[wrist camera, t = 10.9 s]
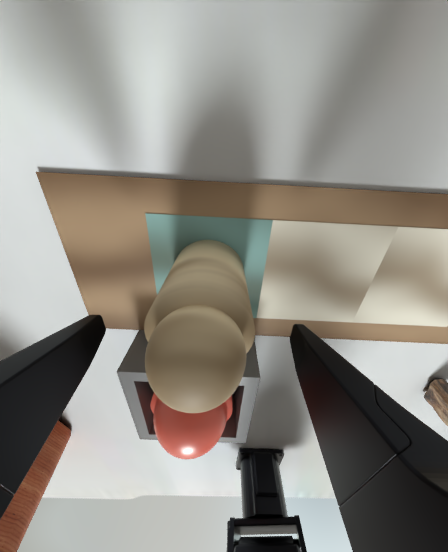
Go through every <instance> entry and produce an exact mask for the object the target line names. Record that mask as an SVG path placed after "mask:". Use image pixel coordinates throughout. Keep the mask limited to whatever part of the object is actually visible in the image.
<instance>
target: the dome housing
mask: <svg viewBox="0 0 448 552" xmlns="http://www.w3.org/2000/svg"><path fill="white" fill-rule="evenodd" d="M147 344H148V341H147V339H146V336H145V331H144V330H139V332H138V333H137V335H136V337H135V339H134V341H133V343H132V345H131V346H130V348H129V350H128V352H127V354H126V356H125V357H124V359H123V361H122V363H121V365H120V367H119V368H118V370H117V374H118V377H119V380H120V383H121V385H122V388H123V391H124V394H125V397H126V400H127V403H128V406H129V409H130V412H131V415H132V418H133V421H134V423H135V426H136V429H137V432H138V435H139V438H140V439H149V440H158V439H157V436H156V433H155V430H154V422H153V415H154V414H153V412H152V410H151V406H150V404H151V400H152V397H153V394H154V392H153V390H152V388H151V386H150V384H149V382H148V379H147V376H146V370H145V353H146V348H147ZM246 356H247V357H246V367H245V371H244V374H243V377H242V380H241V382H240V384H239V386H238V387H237V389H236V390H235V392H234V393H233V394H232V415H231V417H230V418H229V419H228V420H227V421H226V425H225V428H224V431H223V433H222V435H221V437H220V439H219V441H218V442H226V443H246V439H247V435H248V430H249V426H250V421H251V417H252V413H253V408H254V404H255V399H256V395H257V390H258V386H259V381H260V373H259V367H258V361H257V354H256V348H255V342H253V344H252V347H251V348H250V350H249V351H248V352H247V354H246Z"/></svg>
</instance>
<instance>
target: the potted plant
mask: <svg viewBox="0 0 448 552" xmlns="http://www.w3.org/2000/svg"><path fill="white" fill-rule="evenodd" d="M70 436H71V430H70V429H69V428H67V427H66V426H65V425H64V424H62V423H61V422H60V421H59V420H58V421H57V423H56V425H55V426H54V428H53V430H52V432H51V433H50V435H49V437H48V439H47V440H46V442H45V444H44V445H43V447H42V449H41V451H40V452H39V454H38V456H37V457H36V459H35V461H34V463H33V464H32V466H31V468H30V469H29V471H28V473H27V475H26V476H25V478H24V480H23V481H22V483H21V485H20V487H19V488H18V490H17V492H16V493H15V494H14V497H13V499H12V501H11V502H10V504H9V506H8V507H7V509H6V511H5V513H4V514H3V516H2V518H1V520H0V552H17V550H18V548H19V545H20V543H21V541H22V539H23V537H24V535H25V532H26V530H27V528H28V526H29V524H30V522H31V520H32V517H33V515H34V513H35V511H36V509H37V507H38V505H39V502H40V500H41V498H42V496H43V494H44V492H45V490H46V487H47V485H48V483H49V481H50V479H51V477H52V475H53V472H54V470H55V468H56V466H57V464H58V462H59V459H60V457H61V455H62V453H63V451H64V449H65V447H66V444H67V442H68V440H69V438H70Z"/></svg>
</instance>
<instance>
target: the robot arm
mask: <svg viewBox="0 0 448 552" xmlns="http://www.w3.org/2000/svg"><path fill="white" fill-rule="evenodd" d="M105 331H106V327H105V324H104V321H103V318H102V316H101V315H95V314H92V315H89V316H87V317H85V318H83V319H81V320H79V321H77V322H75V323H73V324H71V325H70V326H68V327H66V328H64V329H62V330H60V331H58V332H56V333H54V334H52V335H50V336H48V337H46V338H44V339H42V340H41V341H39V342H37V343H35V344H33V345H31V346H29V347H27V348H25V349H23V350H21V351H19V352H17V353H15V354H13V355H12V356H10V357H8V358H6V359H4V360H2V361H0V520H1V518H2V516H3V514H4V513H5V511H6V509H7V507H8V506H9V504H10V502H11V501H12V499H13V497H14V494H15V493H16V492H17V490H18V488H19V487H20V485H21V483H22V481H23V480H24V478H25V476H26V475H27V473H28V471H29V469H30V468H31V466H32V464H33V463H34V461H35V459H36V457H37V456H38V454H39V452H40V451H41V449H42V447H43V445H44V444H45V442H46V440H47V439H48V437H49V435H50V433H51V432H52V430H53V428H54V426H55V425H56V423H57V421H58V420H59V418H60V416H61V414H62V413H63V411H64V409H65V408H66V406H67V404H68V402H69V401H70V399H71V397H72V396H73V394H74V392H75V390H76V389H77V387H78V385H79V384H80V382H81V380H82V378H83V377H84V375H85V373H86V372H87V370H88V368H89V366H90V364H91V363H92V360H93V358H94V356H95V354H96V352H97V350H98V348H99V345H100V343H101V341H102V339H103V337H104V334H105ZM290 343H291V348H292V353H293V358H294V363H295V368H296V372H297V376H298V379H299V382H300V386H301V389H302V392H303V395H304V398H305V401H306V405H307V408H308V411H309V414H310V417H311V420H312V423H313V427H314V430H315V433H316V436H317V439H318V442H319V446H320V449H321V452H322V455H323V458H324V461H325V465H326V468H327V471H328V474H329V477H330V480H331V483H332V487H333V490H334V493H335V496H336V499H337V502H338V505H339V506H340V507H339V509H340V512H341V515H342V518H343V522H344V525H345V528H346V531H347V534H348V537H349V540H350V544H351V547H352V550H353V552H448V441H447V440H446V439H444V438H443V437H442V436H440V435H439V434H438V433H436V432H435V431H434V430H432V429H431V428H430V427H428V426H427V425H426V424H424V423H423V422H422V421H420V420H419V419H418V418H416V417H415V416H414V415H412V414H411V413H410V412H409V411H407V410H406V409H405V408H403V407H402V406H401V405H400V404H398V403H397V402H396V401H395V400H393V399H392V398H391V397H390V396H389V395H387V394H386V393H385V392H384V391H382V390H381V389H380V388H379V387H378V386H377V385H374V383H373V382H372V381H370V380H369V379H368V378H367V377H366V376H365V375H363V374H362V373H361V372H360V371H359V370H357V369H356V368H355V367H354V366H353V365H351V364H350V363H349V362H348V361H347V360H345V359H344V358H343V357H342V356H341V355H340V354H338V353H337V352H336V351H335V350H334V349H332V348H331V347H330V346H329V345H328V344H326V343H325V342H324V341H323V340H322V339H320V338H319V337H318V336H317V335H316V334H315V333H313V332H312V331H311V330H310V329H309V328H307V327H306V326H305V325H304V324H294V325H293V328H292V332H291V335H290ZM283 456H284V452H283V451H282V450H264V449H240V450H239V453H238V458H237V464H236V469H237V470H241V488H242V510H243V518H242V519H239V518H238V519H235V518H230V521H228V537H227V540H228V541H227V552H307V551H306V546H305V542H304V537H303V533H302V528H301V524H300V519H299V515H297V516H295V517H288V515H287V510H286V504H285V498H284V492H283V487H282V481H281V475H280V470H279V465H280V463H281V461H282V459H283ZM294 533H296V534H297V537H298V539H293V538H292V536H272V537H271V536H270V537H269V536H268V537H241V536H240V535H250V534H251V535H253V534H294Z"/></svg>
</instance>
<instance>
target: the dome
mask: <svg viewBox="0 0 448 552" xmlns="http://www.w3.org/2000/svg"><path fill="white" fill-rule="evenodd" d="M150 406H151V410H152V412H153V414H154V415H153V422H154V430H155V433H156V436H157V439H158V441H159V443H160V444H161V446H162V447H163V448H164V449H165V450H166V451H167V452H168V453H169V454H171V455H172V456H174V457H177V458H181V459H194V458H197V457H200V456H202V455H204V454H205V453H207V452H208V451H210V450H211V449H212V448H213V447H214V446H215V444H216V443H217V442H218V441H219V439H220V437H221V435H222V433H223V431H224V428H225V425H226V421H227V420H228V419H229V418H230V417H231V415H232V395H231V396H230V397H229V398H228V399H227V400H226V401H225V402H224V403H222V404H221V405H220V406H218V407H216V408H214V409H211V410H209V411H206V412H201V413H185V412H180V411H177V410H174V409H172V408H170V407H169V406H167V405H166V404H165V403H163V402H162V401H161V400H160V399H159V398H158V397H157V396H156V394H155V393H154V394H153V397H152V400H151V404H150Z"/></svg>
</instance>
